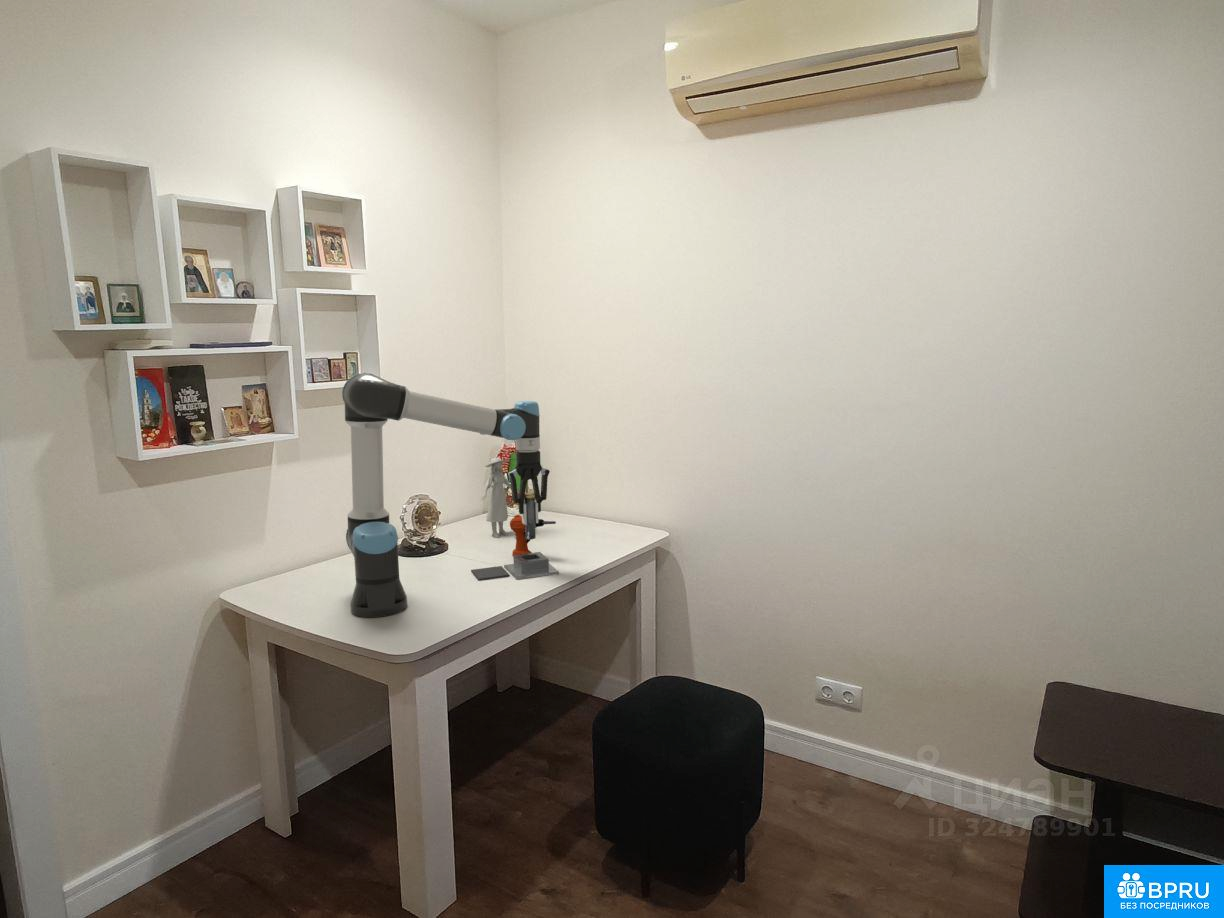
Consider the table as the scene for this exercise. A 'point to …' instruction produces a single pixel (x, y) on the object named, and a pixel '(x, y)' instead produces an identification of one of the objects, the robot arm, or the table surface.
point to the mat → (490, 573)
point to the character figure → (497, 496)
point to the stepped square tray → (530, 566)
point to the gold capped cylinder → (530, 515)
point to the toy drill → (523, 534)
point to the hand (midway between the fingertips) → (530, 522)
